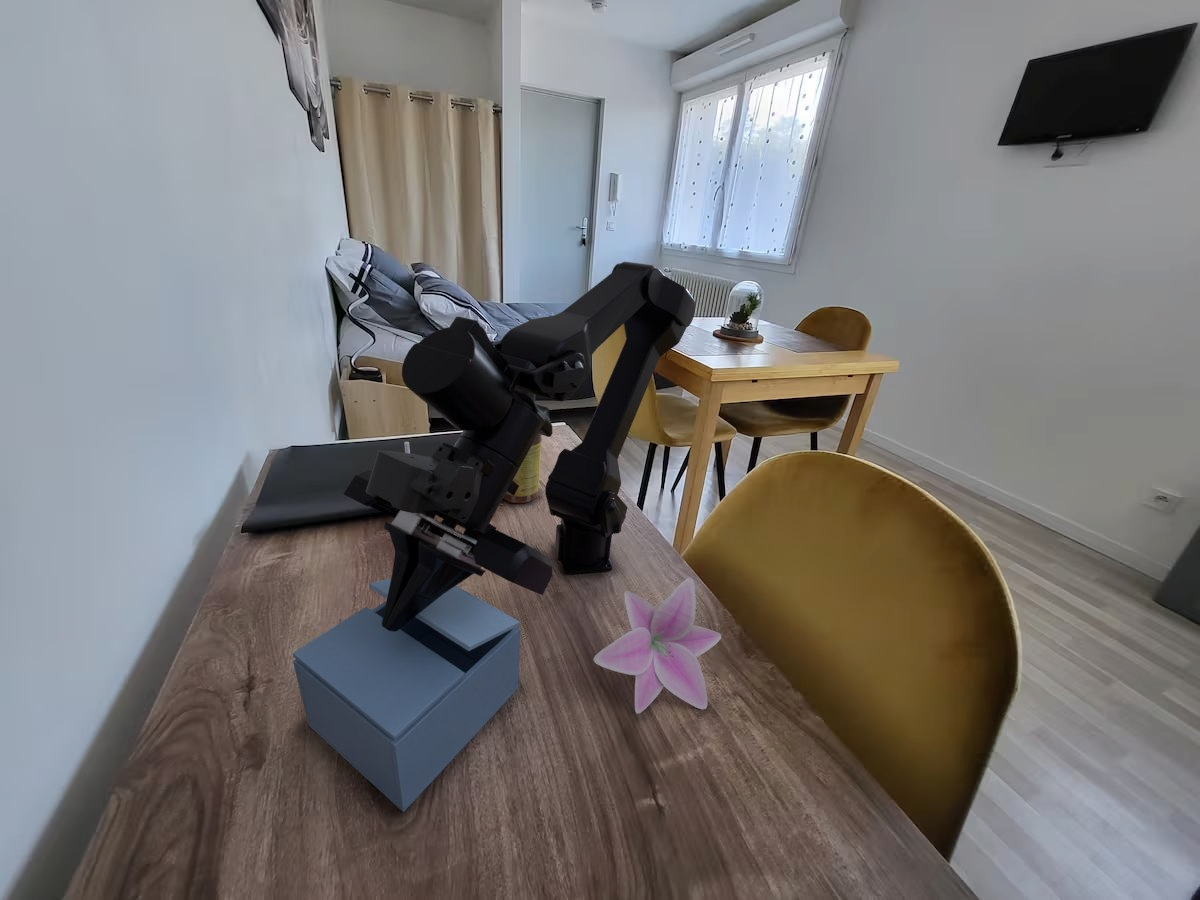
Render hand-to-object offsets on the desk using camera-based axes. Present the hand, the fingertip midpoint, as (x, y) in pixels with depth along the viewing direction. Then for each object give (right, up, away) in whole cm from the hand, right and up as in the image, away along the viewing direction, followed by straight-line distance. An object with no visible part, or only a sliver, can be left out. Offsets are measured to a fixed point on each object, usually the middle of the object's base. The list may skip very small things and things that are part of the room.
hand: (388, 629), depth 37 cm
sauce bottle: (+3, +6, +41) cm, 41 cm away
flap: (+3, 0, +5) cm, 6 cm away
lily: (+22, -9, +11) cm, 26 cm away
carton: (0, -9, +6) cm, 11 cm away
